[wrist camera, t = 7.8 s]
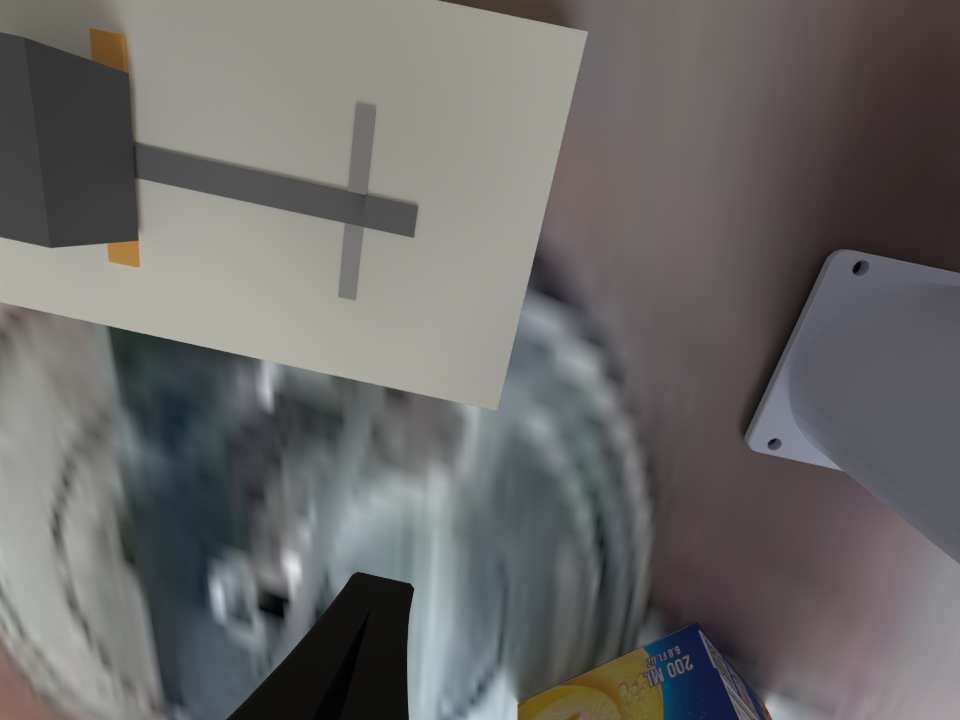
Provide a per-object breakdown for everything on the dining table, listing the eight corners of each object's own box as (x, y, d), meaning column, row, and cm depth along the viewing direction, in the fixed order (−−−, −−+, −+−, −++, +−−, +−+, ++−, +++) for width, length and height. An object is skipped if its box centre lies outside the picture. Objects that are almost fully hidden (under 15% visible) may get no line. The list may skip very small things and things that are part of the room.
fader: (128, 73, 13) (5, 30, 10) (138, 240, 15) (36, 249, 12) (1, 46, 13) (-162, -5, 10) (25, 215, 15) (-108, 218, 12)
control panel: (578, 55, 14) (588, 29, 12) (499, 390, 18) (497, 413, 16) (-21, -71, 14) (-109, -117, 12) (31, 287, 18) (-29, 297, 16)
